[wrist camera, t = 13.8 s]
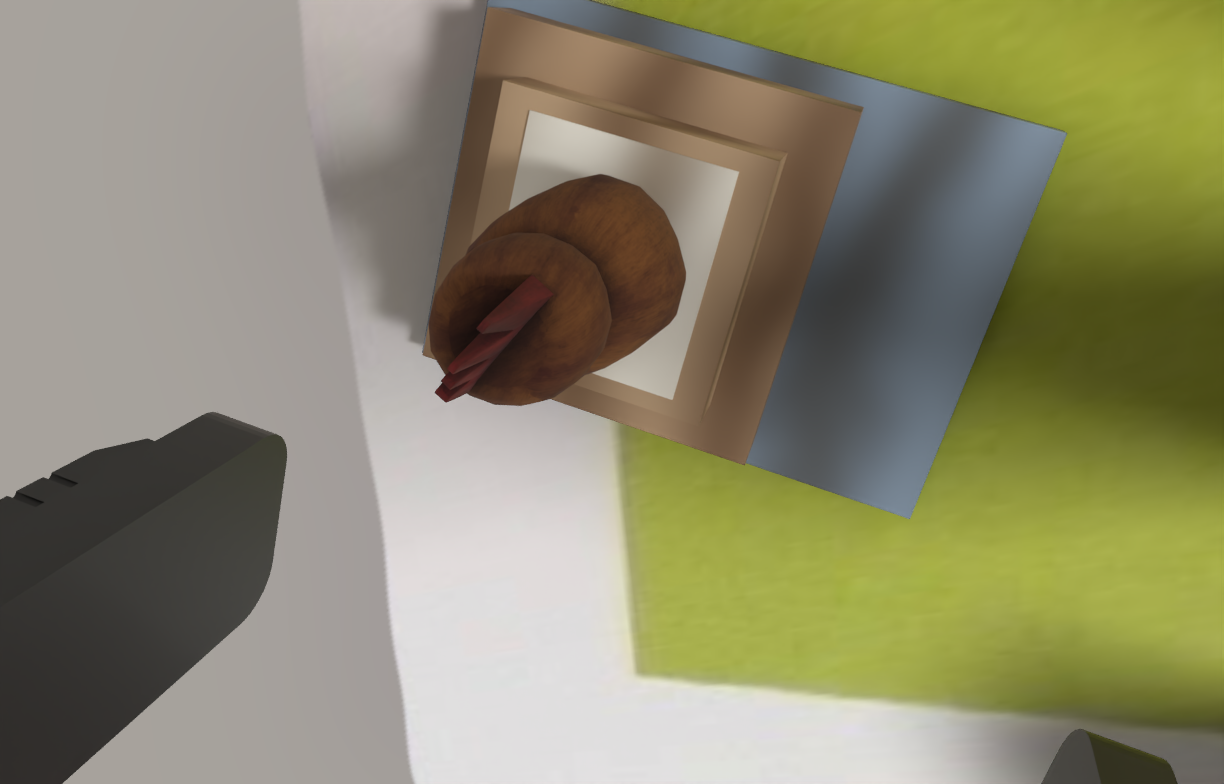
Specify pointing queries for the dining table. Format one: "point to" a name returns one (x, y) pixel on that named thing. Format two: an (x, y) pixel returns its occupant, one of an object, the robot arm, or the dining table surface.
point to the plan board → (881, 268)
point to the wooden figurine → (556, 292)
